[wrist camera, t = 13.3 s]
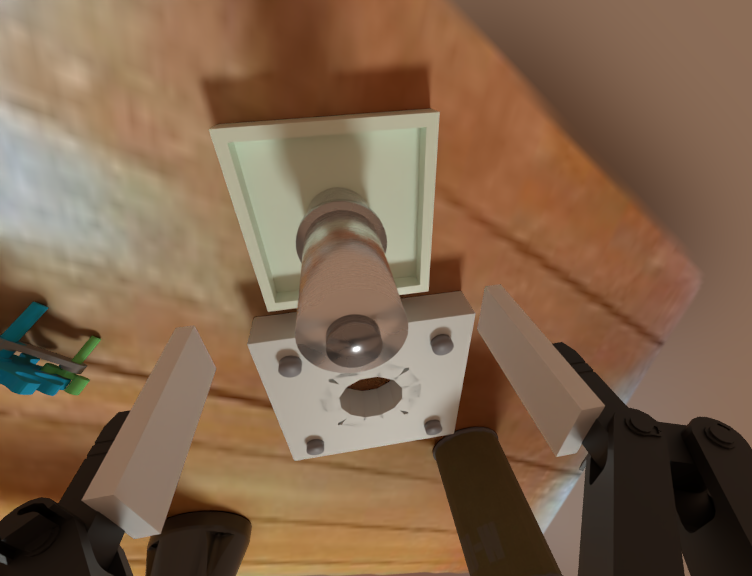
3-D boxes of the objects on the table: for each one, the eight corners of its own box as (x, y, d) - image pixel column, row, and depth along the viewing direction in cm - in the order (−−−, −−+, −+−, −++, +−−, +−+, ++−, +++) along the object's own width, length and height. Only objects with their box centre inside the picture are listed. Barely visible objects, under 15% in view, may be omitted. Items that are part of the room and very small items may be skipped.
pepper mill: (306, 257, 26) (296, 402, 15) (292, 184, 22) (264, 301, 11) (378, 249, 26) (421, 383, 15) (375, 176, 23) (427, 281, 12)
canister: (463, 420, 45) (543, 618, 29) (510, 433, 49) (602, 612, 33) (417, 458, 50) (465, 648, 33) (464, 467, 54) (526, 639, 38)
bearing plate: (296, 433, 41) (294, 467, 37) (254, 317, 29) (245, 351, 26) (445, 409, 43) (456, 439, 39) (461, 290, 31) (479, 319, 28)
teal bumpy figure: (-108, 330, 23) (-165, 364, 16) (-37, 265, 25) (-62, 272, 19) (68, 382, 30) (78, 421, 24) (112, 328, 32) (132, 349, 26)
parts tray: (270, 297, 28) (267, 311, 27) (217, 124, 20) (208, 129, 18) (422, 278, 30) (428, 291, 28) (430, 108, 21) (439, 111, 20)
